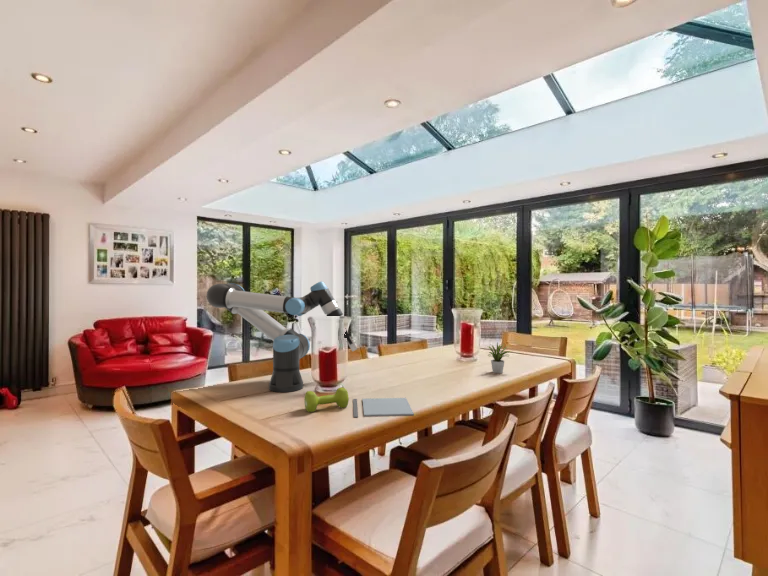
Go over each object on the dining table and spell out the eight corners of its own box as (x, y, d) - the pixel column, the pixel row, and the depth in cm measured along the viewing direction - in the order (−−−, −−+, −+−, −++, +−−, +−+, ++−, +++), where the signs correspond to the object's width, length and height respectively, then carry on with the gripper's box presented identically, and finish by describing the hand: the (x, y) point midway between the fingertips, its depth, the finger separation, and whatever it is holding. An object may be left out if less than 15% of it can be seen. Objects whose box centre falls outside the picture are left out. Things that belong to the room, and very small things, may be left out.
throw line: (353, 417, 141) (353, 416, 141) (353, 399, 163) (353, 398, 163) (358, 417, 141) (358, 416, 141) (357, 399, 163) (357, 398, 163)
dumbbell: (307, 415, 144) (307, 395, 144) (302, 408, 151) (302, 389, 151) (350, 409, 151) (350, 390, 151) (343, 403, 158) (343, 385, 158)
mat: (364, 416, 142) (364, 414, 142) (362, 400, 162) (362, 398, 162) (413, 415, 144) (413, 413, 144) (405, 399, 163) (405, 397, 163)
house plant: (494, 376, 205) (494, 345, 205) (477, 371, 218) (478, 341, 217) (515, 374, 211) (516, 343, 210) (498, 368, 223) (498, 340, 223)
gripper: (338, 306, 179) (362, 346, 179) (339, 308, 204) (360, 344, 203) (324, 314, 178) (348, 355, 178) (326, 316, 203) (347, 351, 202)
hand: (354, 349), depth 190 cm, fingers open, 13 cm apart
